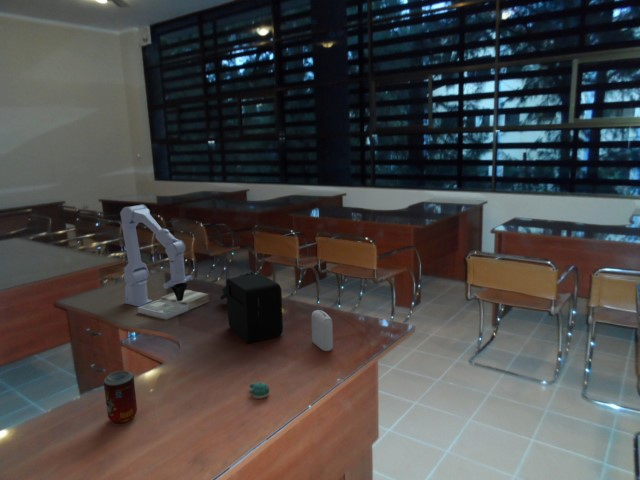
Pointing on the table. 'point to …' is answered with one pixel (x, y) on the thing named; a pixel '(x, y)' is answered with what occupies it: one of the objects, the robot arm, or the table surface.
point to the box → (160, 314)
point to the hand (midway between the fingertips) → (179, 300)
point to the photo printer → (322, 330)
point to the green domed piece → (259, 390)
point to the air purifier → (254, 307)
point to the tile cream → (157, 306)
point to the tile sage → (170, 309)
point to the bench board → (189, 298)
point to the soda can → (120, 397)
